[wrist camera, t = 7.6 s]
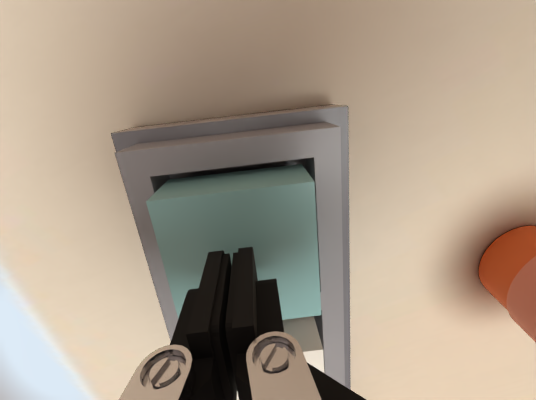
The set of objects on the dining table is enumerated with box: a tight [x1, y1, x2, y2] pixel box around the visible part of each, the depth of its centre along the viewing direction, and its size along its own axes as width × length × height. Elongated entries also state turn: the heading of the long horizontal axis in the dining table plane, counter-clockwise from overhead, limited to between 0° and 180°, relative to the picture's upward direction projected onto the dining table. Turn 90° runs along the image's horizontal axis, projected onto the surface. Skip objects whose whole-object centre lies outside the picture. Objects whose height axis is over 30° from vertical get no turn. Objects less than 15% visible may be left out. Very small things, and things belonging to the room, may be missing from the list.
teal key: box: [146, 164, 321, 320], centre depth 13 cm, size 6×6×3 cm
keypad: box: [111, 105, 350, 389], centre depth 19 cm, size 28×12×6 cm, turn 6°
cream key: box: [237, 316, 324, 400], centre depth 16 cm, size 6×6×3 cm
